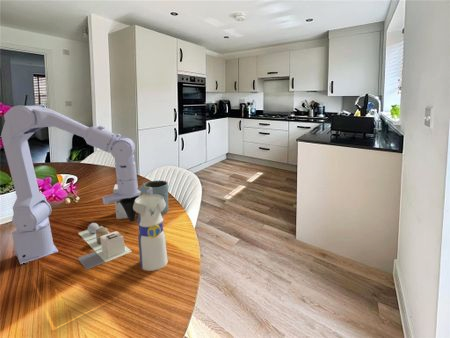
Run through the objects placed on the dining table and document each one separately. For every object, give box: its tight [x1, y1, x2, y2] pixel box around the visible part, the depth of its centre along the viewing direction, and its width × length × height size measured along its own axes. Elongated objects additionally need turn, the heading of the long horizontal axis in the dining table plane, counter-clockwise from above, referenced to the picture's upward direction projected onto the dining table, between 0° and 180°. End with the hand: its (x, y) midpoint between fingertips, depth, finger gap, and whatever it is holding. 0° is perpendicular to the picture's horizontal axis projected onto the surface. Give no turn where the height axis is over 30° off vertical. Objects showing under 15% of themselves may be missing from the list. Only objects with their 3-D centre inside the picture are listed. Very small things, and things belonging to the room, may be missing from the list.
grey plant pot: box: [143, 180, 169, 216], centre depth 111 cm, size 10×10×12 cm
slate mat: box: [77, 251, 106, 271], centre depth 78 cm, size 5×8×1 cm, turn 44°
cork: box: [96, 227, 109, 244], centre depth 88 cm, size 4×4×4 cm
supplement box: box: [113, 183, 137, 220], centre depth 108 cm, size 7×7×13 cm
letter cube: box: [100, 230, 126, 258], centre depth 81 cm, size 5×5×5 cm
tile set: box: [77, 225, 133, 263], centre depth 88 cm, size 8×25×1 cm, turn 44°
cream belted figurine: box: [133, 182, 169, 272], centre depth 73 cm, size 8×9×25 cm
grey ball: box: [87, 222, 100, 233], centre depth 94 cm, size 4×4×4 cm
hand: (131, 220), depth 84 cm, fingers closed
